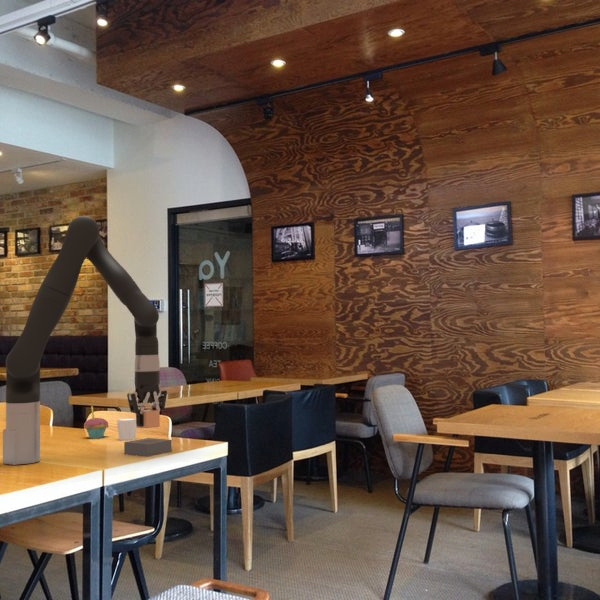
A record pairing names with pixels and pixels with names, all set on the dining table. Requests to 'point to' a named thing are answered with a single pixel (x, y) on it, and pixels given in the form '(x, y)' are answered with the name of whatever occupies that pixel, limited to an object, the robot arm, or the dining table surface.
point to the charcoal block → (148, 447)
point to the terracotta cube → (151, 419)
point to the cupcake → (95, 426)
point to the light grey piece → (127, 429)
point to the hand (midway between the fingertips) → (148, 425)
